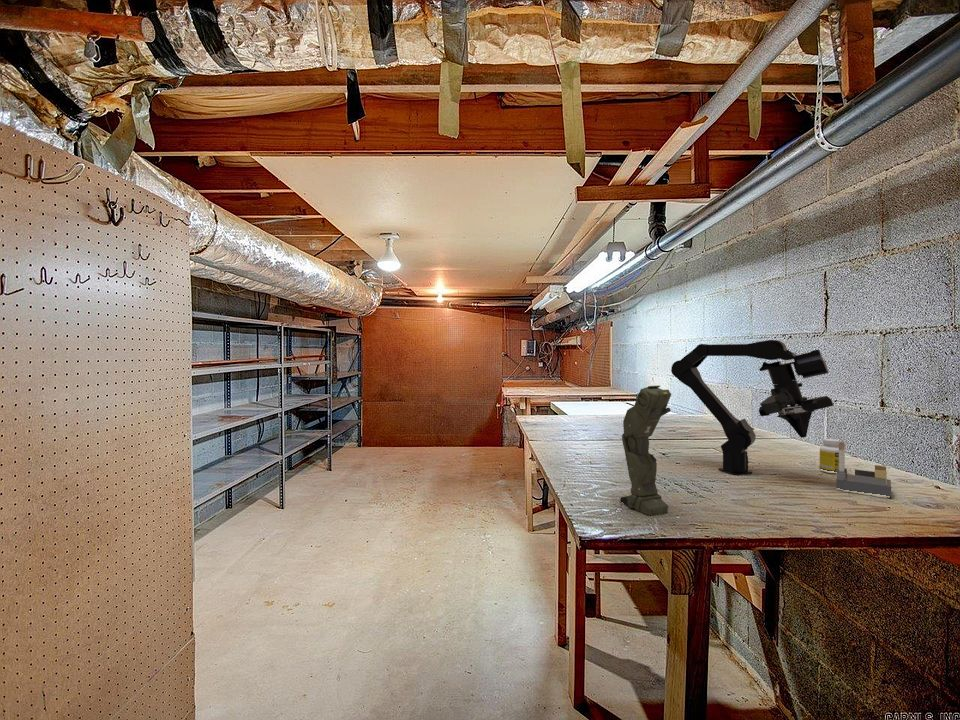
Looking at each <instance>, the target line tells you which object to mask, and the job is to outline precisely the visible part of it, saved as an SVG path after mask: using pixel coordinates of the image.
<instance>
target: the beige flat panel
mask: <svg viewBox="0 0 960 720" xmlns="http://www.w3.org/2000/svg"><path fill="white" fill-rule="evenodd" d="M845 448H846V442H845V441H844V442H841V441H840V442H839V472H841V473H845V469H846V466H845V465H846V464H845V463H846V460H845V458H846V457H845V456H846V454H845V453H846V452H845V451H846V449H845Z"/></svg>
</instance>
